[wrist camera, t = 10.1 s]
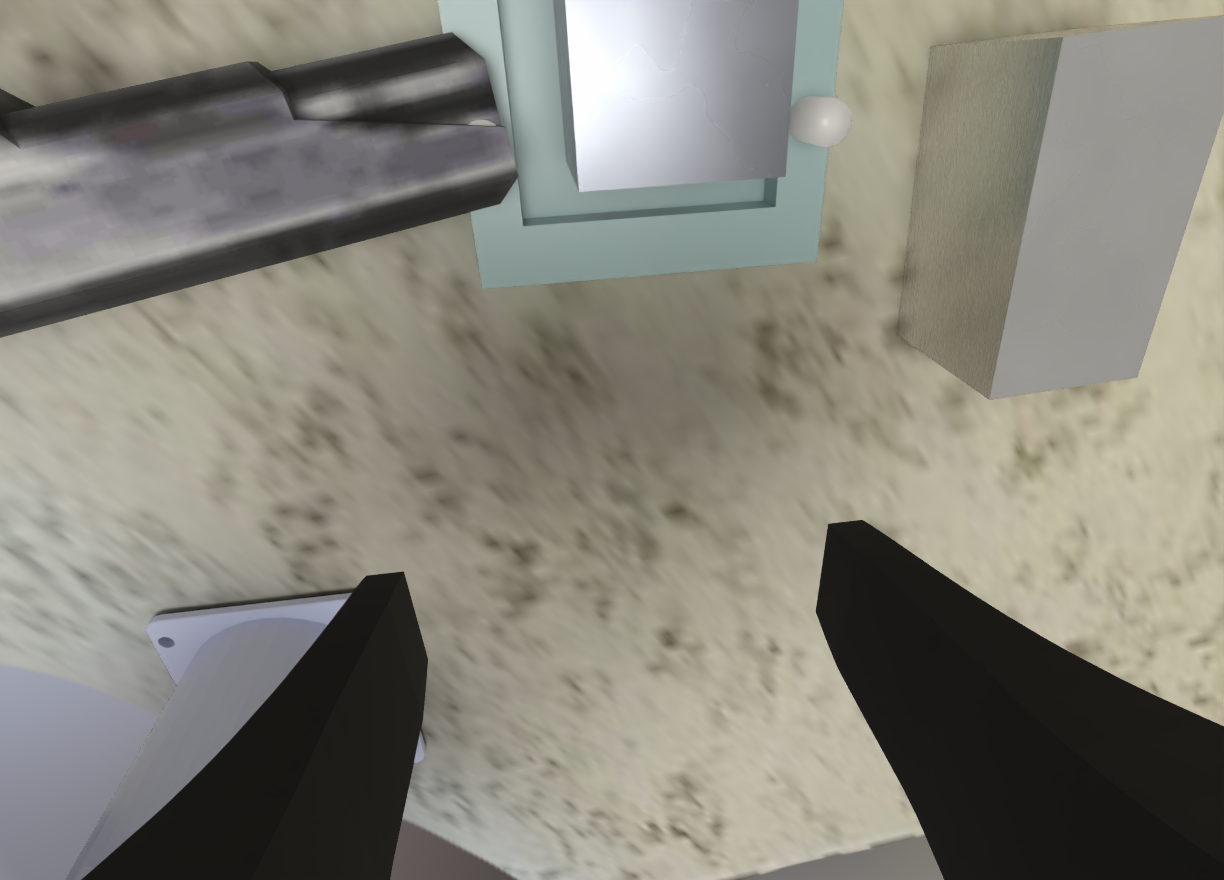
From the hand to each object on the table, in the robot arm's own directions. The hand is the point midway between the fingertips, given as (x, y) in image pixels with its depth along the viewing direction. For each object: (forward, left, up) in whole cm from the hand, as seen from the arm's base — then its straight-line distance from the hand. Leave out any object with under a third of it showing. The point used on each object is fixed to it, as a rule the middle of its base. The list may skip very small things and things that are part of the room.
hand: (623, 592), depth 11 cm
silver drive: (+4, -12, -11) cm, 17 cm away
